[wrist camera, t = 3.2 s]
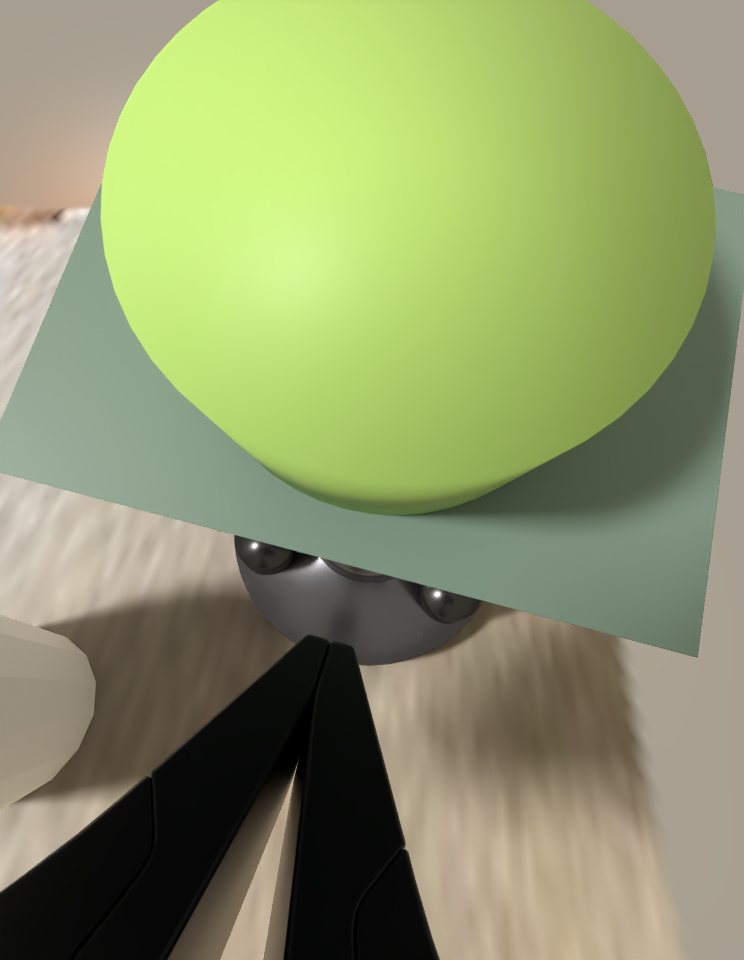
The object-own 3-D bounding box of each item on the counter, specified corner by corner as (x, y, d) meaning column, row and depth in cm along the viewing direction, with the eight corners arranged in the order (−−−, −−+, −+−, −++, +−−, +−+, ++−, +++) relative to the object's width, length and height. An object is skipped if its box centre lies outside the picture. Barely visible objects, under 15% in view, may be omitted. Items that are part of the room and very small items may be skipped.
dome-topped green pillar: (432, 578, 16) (934, 728, 2) (286, 540, 17) (-274, 407, 2) (467, 426, 18) (969, -230, 3) (329, 391, 18) (156, -389, 3)
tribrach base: (470, 698, 17) (495, 702, 15) (199, 624, 18) (173, 615, 15) (504, 454, 22) (528, 422, 19) (287, 399, 22) (280, 360, 19)
